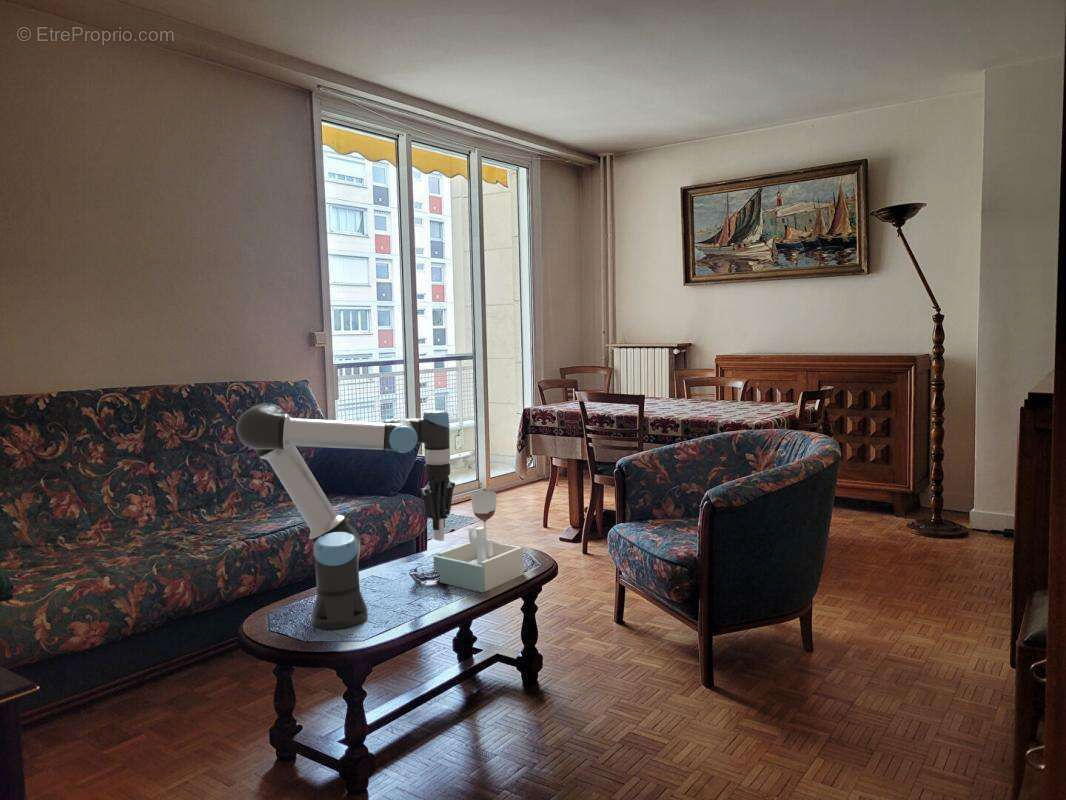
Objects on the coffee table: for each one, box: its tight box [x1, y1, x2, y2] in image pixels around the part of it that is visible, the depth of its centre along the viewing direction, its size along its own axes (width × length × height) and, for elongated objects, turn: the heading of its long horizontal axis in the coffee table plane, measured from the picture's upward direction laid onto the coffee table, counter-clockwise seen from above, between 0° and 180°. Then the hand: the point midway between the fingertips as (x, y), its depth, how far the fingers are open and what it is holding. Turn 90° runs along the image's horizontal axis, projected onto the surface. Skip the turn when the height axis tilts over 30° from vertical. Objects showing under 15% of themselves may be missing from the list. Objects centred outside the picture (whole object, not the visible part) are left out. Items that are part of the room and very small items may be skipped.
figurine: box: [468, 525, 494, 565], centre depth 248 cm, size 7×9×15 cm
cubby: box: [437, 540, 525, 592], centre depth 248 cm, size 19×19×9 cm
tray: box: [433, 554, 486, 593], centre depth 247 cm, size 19×20×8 cm
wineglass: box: [470, 490, 497, 539], centre depth 271 cm, size 9×10×22 cm
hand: (439, 539), depth 233 cm, fingers closed
